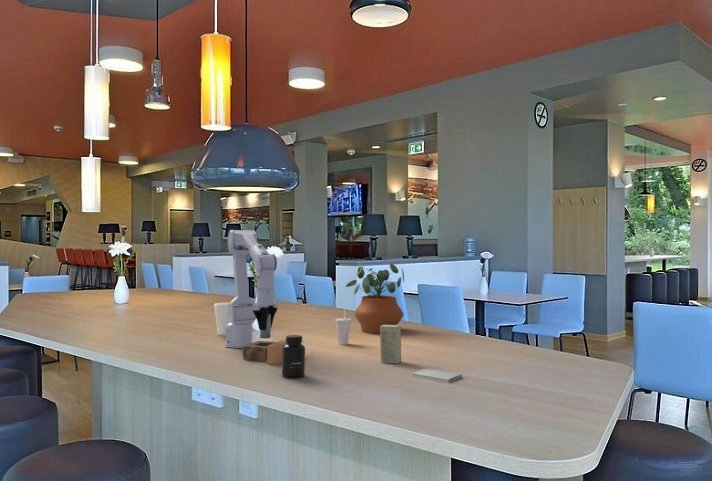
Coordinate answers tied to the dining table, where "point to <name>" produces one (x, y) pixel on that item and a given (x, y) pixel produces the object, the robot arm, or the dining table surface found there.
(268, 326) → the dowel
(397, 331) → the skincare box
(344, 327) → the smoothie
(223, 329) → the foam cup
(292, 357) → the supplement bottle
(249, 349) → the pocket block
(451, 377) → the hard drive
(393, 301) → the potted plant
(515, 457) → the dining table surface
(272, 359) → the block
